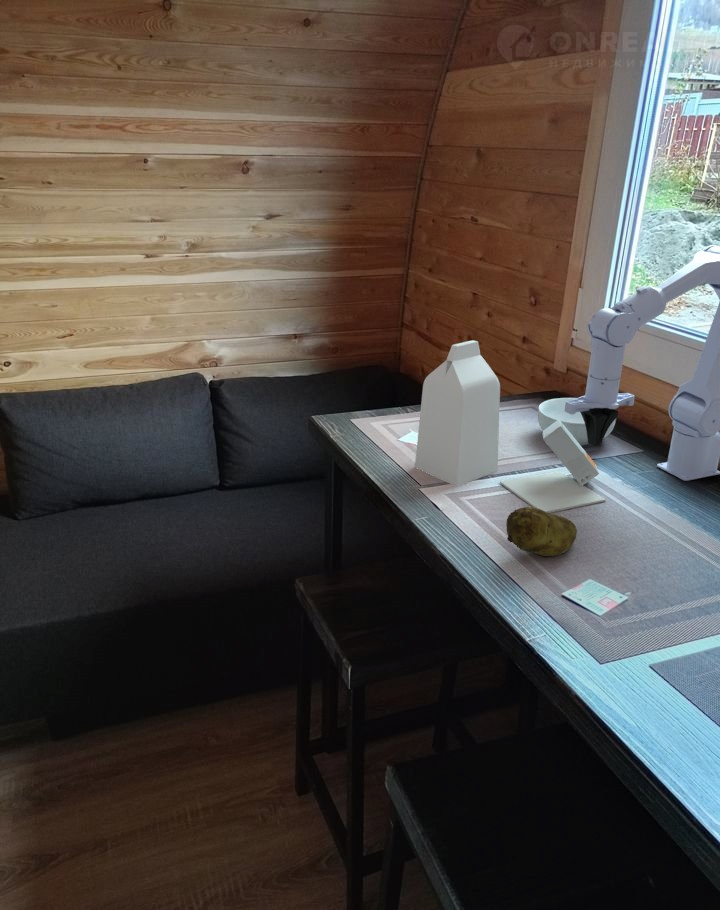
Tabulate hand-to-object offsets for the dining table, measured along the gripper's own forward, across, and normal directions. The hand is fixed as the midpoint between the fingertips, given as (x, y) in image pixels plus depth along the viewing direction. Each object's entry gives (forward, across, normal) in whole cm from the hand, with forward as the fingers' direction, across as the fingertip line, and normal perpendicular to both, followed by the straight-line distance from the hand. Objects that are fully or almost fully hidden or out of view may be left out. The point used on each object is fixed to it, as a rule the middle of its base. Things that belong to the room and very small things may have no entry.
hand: (594, 444), depth 147 cm
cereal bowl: (+9, +13, +21) cm, 26 cm away
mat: (+8, -9, 0) cm, 12 cm away
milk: (+9, -20, +16) cm, 27 cm away
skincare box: (+7, 0, 0) cm, 7 cm away
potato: (+9, -24, -18) cm, 31 cm away
